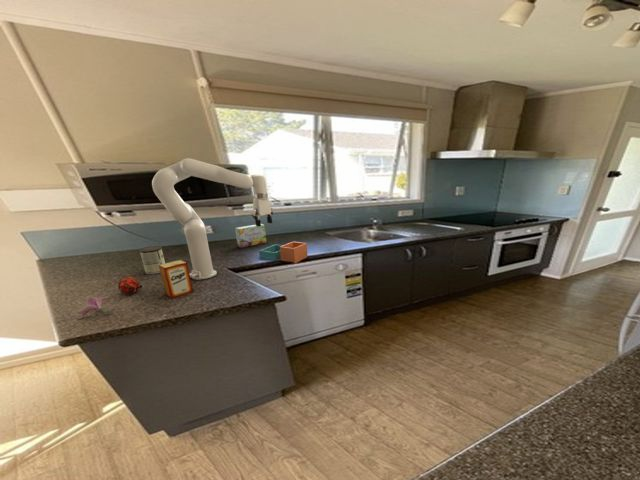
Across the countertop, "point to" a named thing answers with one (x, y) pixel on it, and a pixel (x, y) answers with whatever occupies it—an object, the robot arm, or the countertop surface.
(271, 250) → the lower bin
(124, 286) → the dragon fruit
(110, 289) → the countertop surface
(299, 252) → the upper bin
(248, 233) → the snack box
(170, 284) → the baking soda box
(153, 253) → the coffee can
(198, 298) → the countertop surface
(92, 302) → the lily
